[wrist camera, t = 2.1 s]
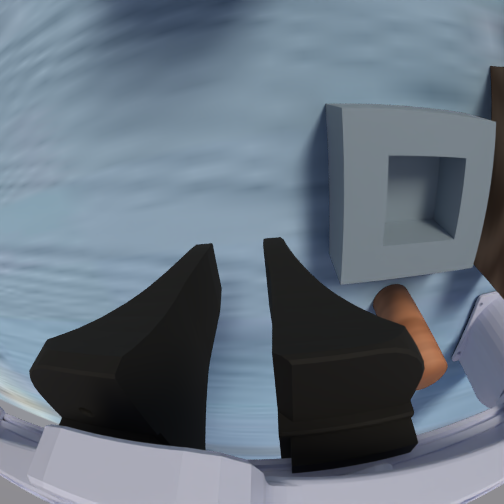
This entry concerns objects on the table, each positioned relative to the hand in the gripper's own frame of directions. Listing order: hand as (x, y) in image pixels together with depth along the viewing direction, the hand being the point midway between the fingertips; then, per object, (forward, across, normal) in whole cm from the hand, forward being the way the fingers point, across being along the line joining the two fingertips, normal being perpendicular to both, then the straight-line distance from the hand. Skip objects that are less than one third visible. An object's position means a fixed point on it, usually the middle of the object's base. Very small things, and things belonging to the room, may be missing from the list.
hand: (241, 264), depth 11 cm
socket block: (+9, -10, 0) cm, 13 cm away
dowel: (+8, -10, +10) cm, 17 cm away
